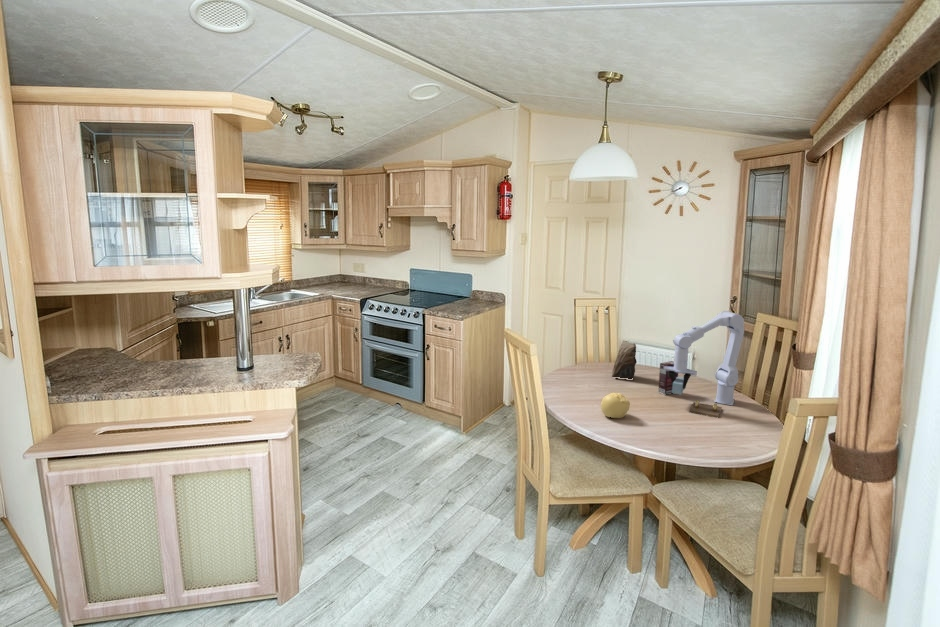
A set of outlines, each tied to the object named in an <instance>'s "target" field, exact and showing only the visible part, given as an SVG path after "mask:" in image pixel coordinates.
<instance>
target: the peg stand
mask: <svg viewBox="0 0 940 627" xmlns="http://www.w3.org/2000/svg"><path fill="white" fill-rule="evenodd" d="M722 408H723V406H718V403H714V404H713V405H712V404H707V403H706V404H705V403H702V402H700V401H699V400H696V402H695V401H693V403H692V405H691V407H690V409H689V413H690V412H691V413H692V414H697V415H701V414H702V415H703V416H706V415H708V417H712V416H713V417H714V418H717V417H718V418H719V417H720V414H721V412H722ZM713 417H712V418H713Z"/></svg>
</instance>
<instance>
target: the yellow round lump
mask: <svg viewBox="0 0 940 627" xmlns="http://www.w3.org/2000/svg"><path fill="white" fill-rule="evenodd" d="M630 405H631V403H630V400H629V399H627V397H626V396H625V395H623V394H622V393H621V392H620V393H619V392H611V393H609V394H607V395H605V396H604V397H603V398H602V400H601V403H600V407H601V412H602V413H603V415H604V416H605V417H607V418H610V417H611V418H612V419H622V418H624V417H625V416H626V415H627V413H628V411H629V410H630V408H631V406H630Z"/></svg>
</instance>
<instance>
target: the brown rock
mask: <svg viewBox="0 0 940 627" xmlns="http://www.w3.org/2000/svg"><path fill="white" fill-rule="evenodd" d="M636 344H637V343H634V342H633V343H632V342H629V341H627V340H624V339H623V340H622V342H621V344H620V346H619V349H618V353H617V355H616V357H615V361H614V363H613V368H612V372H611V373H612V374H611V378H612V377H620V378H628V379H632V378H634V377H635V373H636V368H635V367H636V364H637V358H636V356H637V355H636V353H637V345H636Z"/></svg>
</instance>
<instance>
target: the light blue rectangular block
mask: <svg viewBox="0 0 940 627" xmlns="http://www.w3.org/2000/svg"><path fill="white" fill-rule="evenodd" d="M683 384H684V377H683V376H681V377H680V376H678V377H677V378H676V379H675V381H674V382H673V387H672V393H673V395H674V394H676V395H680V396H681V395H682V394H683V392H684V391H685V389H683Z"/></svg>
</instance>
